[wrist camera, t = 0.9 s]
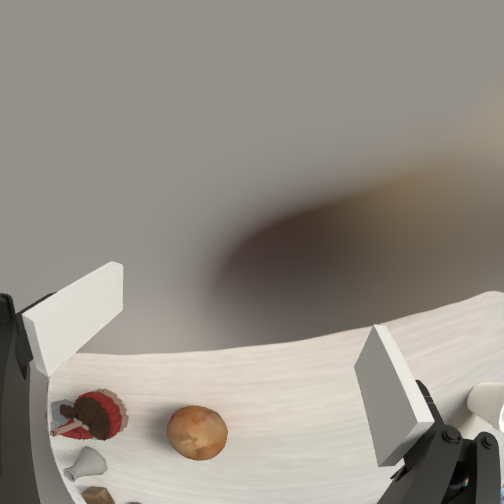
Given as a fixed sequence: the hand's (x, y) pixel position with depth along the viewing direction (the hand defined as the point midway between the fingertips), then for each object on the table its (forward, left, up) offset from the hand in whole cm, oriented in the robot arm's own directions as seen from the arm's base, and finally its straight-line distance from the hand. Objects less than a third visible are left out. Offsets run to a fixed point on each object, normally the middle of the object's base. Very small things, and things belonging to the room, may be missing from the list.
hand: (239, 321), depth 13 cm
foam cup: (-28, -40, -33) cm, 59 cm away
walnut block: (-39, +45, -33) cm, 68 cm away
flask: (-28, +43, -33) cm, 61 cm away
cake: (-14, +34, -33) cm, 49 cm away
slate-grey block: (-16, +45, -33) cm, 58 cm away
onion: (-17, +14, -33) cm, 40 cm away
